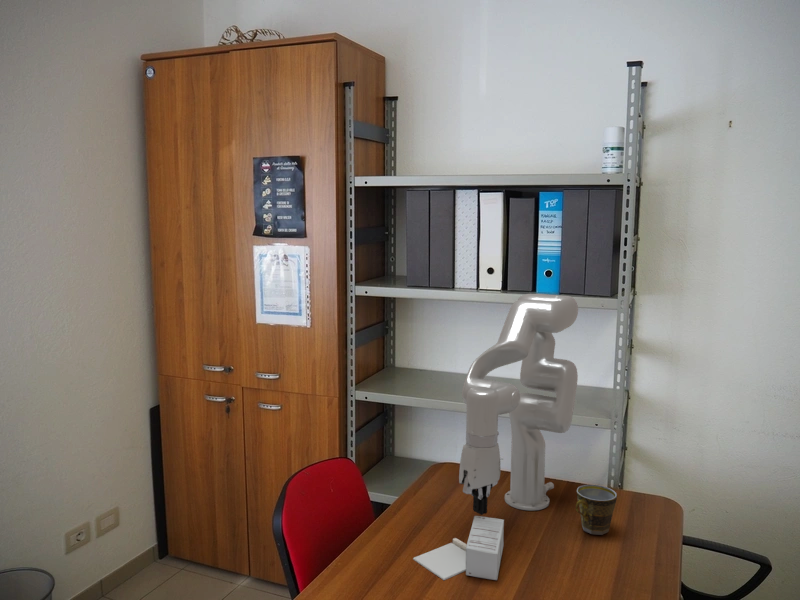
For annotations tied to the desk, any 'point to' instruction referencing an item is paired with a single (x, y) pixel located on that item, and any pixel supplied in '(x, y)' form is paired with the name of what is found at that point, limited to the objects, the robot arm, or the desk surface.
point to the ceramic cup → (596, 508)
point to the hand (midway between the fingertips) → (480, 511)
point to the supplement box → (485, 547)
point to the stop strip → (459, 544)
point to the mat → (444, 561)
